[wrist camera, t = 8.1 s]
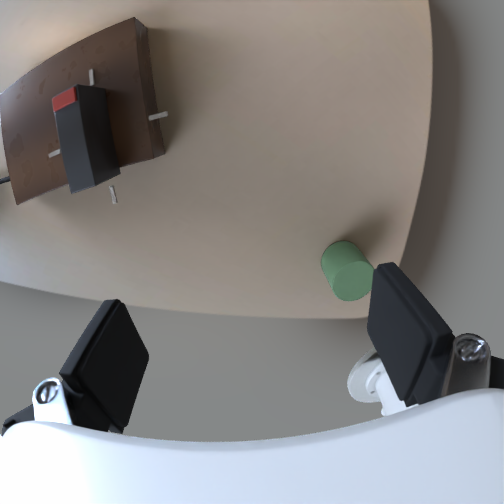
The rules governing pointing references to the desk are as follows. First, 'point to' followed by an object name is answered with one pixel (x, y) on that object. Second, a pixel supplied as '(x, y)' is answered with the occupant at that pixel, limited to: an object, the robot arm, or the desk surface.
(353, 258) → the green cylinder
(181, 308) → the desk surface
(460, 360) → the robot arm
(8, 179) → the yellow walkie-talkie
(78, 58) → the base
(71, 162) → the block
